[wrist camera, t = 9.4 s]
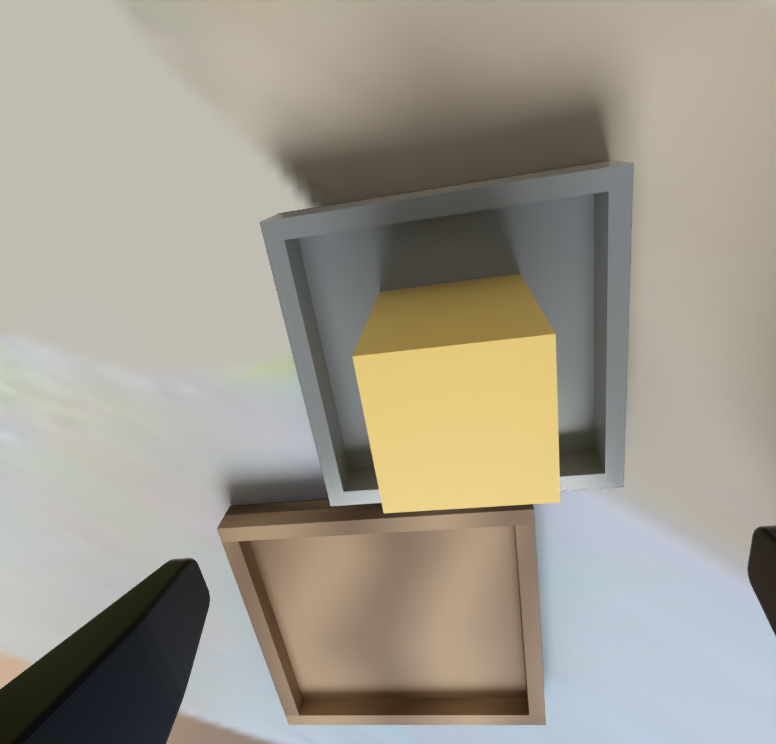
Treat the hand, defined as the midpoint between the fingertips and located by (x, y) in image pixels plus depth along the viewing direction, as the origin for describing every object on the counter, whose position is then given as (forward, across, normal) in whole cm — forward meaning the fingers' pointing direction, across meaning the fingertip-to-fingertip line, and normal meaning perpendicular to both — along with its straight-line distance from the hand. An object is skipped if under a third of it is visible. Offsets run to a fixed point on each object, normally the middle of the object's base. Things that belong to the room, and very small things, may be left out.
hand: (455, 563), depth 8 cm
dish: (+10, 0, 0) cm, 10 cm away
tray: (+10, +4, +13) cm, 17 cm away
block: (+10, 0, 0) cm, 10 cm away
